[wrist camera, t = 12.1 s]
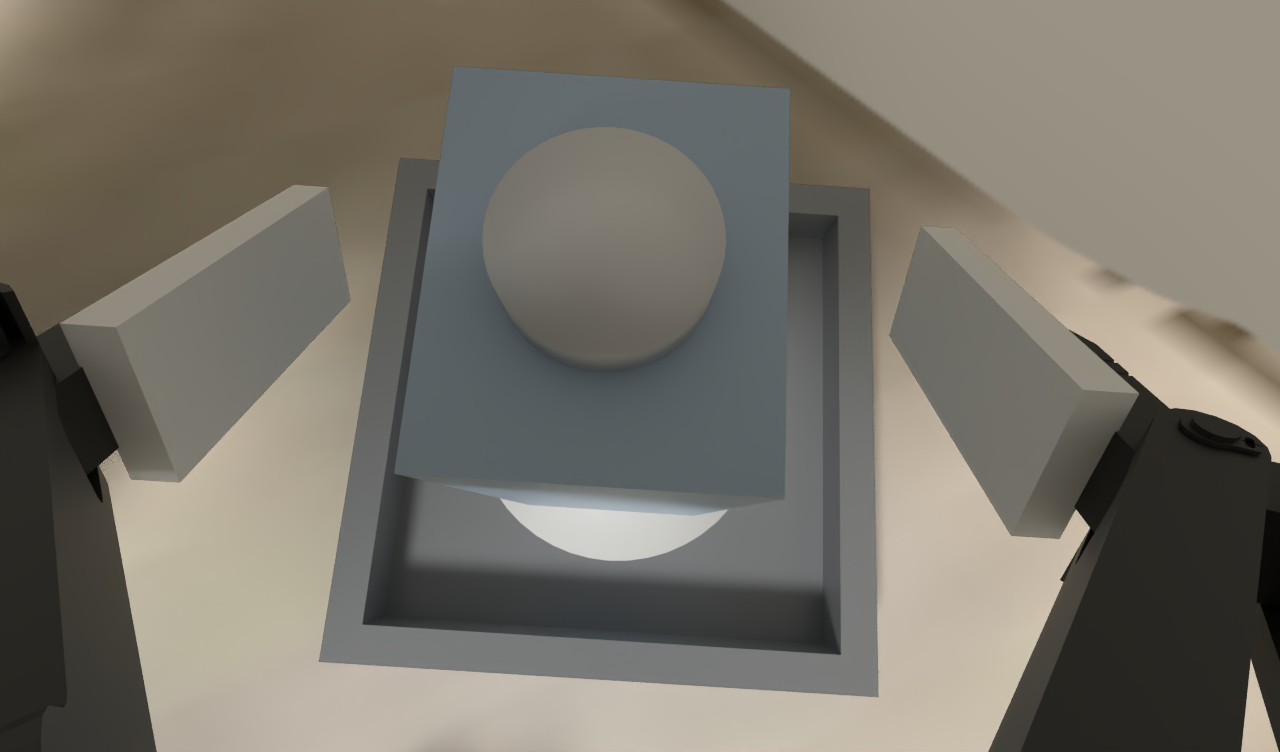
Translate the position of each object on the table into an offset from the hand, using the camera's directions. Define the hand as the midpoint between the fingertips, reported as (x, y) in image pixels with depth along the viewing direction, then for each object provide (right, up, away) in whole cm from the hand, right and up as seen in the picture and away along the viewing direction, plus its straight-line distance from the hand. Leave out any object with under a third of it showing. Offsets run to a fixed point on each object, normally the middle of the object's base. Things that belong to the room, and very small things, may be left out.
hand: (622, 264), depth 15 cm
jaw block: (0, -4, +6) cm, 7 cm away
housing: (0, -4, +7) cm, 8 cm away
